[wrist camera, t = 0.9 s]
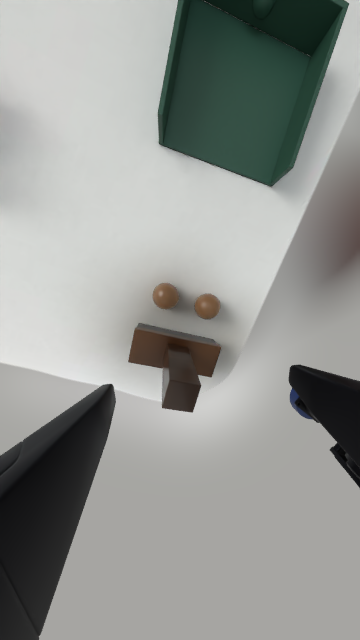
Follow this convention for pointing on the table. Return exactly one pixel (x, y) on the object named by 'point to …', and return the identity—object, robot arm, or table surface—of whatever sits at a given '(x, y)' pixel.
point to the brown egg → (165, 296)
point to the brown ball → (207, 306)
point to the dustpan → (246, 81)
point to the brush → (175, 362)
